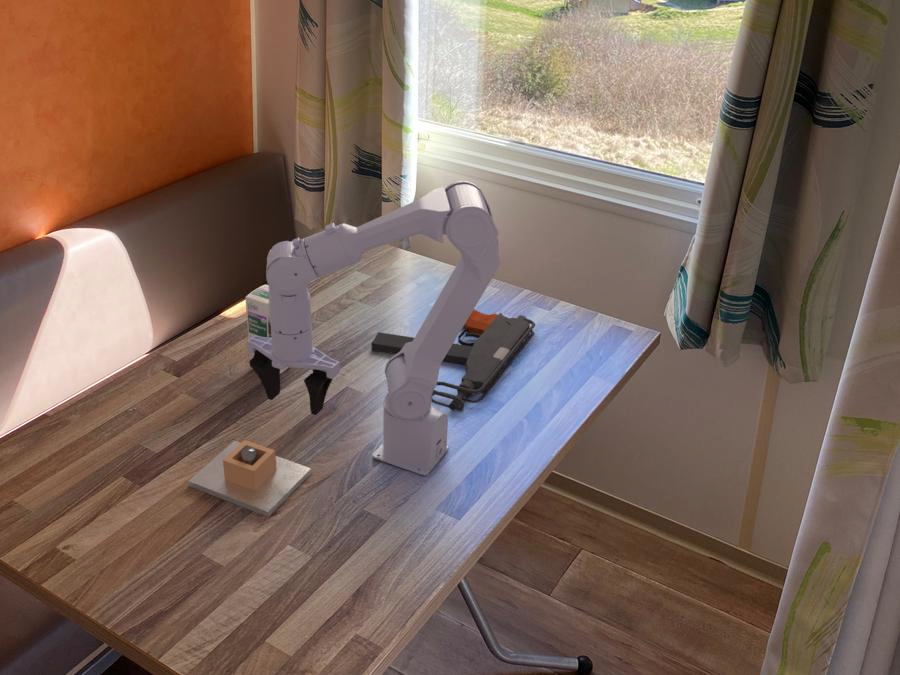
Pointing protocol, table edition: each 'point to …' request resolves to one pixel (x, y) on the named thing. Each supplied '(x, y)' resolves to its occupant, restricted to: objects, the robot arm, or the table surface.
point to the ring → (250, 466)
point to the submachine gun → (474, 352)
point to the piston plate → (257, 501)
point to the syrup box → (259, 315)
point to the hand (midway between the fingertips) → (295, 403)
